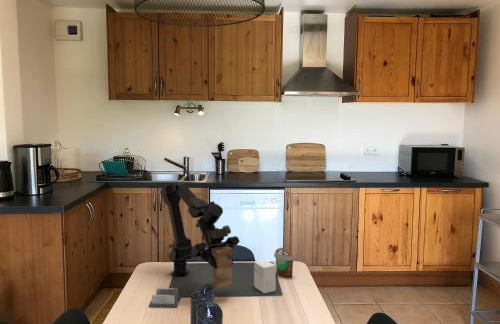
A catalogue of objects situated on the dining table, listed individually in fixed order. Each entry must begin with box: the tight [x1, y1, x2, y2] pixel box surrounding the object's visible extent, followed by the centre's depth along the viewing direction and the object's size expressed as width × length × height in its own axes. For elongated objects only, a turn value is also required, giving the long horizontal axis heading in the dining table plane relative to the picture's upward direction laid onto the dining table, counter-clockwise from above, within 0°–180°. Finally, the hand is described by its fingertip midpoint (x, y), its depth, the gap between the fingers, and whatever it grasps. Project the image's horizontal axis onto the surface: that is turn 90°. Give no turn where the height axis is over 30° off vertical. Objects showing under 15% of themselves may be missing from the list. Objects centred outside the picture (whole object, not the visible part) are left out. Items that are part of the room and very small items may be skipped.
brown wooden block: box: [212, 246, 233, 290], centre depth 152 cm, size 4×6×14 cm, turn 127°
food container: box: [273, 247, 295, 278], centre depth 179 cm, size 12×6×10 cm, turn 17°
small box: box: [253, 259, 277, 294], centre depth 164 cm, size 8×6×10 cm
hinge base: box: [148, 287, 182, 309], centre depth 151 cm, size 8×10×4 cm
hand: (224, 266), depth 151 cm, fingers closed on brown wooden block, 6 cm apart
